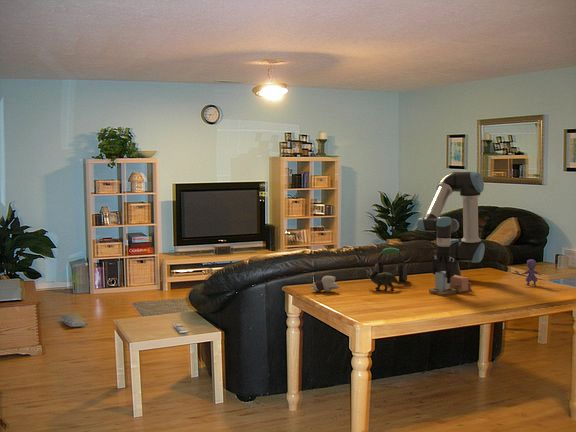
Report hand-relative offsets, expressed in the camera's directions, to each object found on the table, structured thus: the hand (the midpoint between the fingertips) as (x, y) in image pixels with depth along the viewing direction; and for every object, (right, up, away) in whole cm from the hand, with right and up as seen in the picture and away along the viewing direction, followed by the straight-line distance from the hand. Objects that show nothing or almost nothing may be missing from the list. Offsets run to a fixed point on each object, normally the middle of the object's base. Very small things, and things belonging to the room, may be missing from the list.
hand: (442, 288), depth 357 cm
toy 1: (-63, -3, +5) cm, 64 cm away
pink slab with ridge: (+9, -1, +7) cm, 11 cm away
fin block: (0, 0, 0) cm, 0 cm away
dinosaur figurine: (-30, -2, +10) cm, 32 cm away
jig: (+4, -2, +4) cm, 6 cm away
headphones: (-23, 0, +35) cm, 41 cm away
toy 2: (+55, -1, +19) cm, 58 cm away
